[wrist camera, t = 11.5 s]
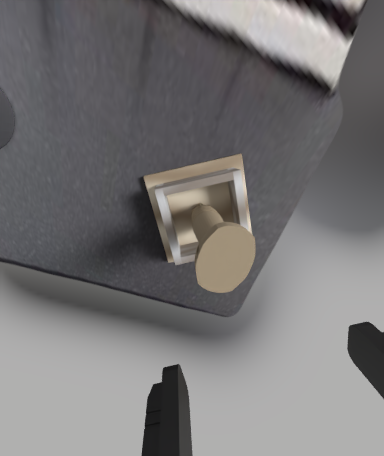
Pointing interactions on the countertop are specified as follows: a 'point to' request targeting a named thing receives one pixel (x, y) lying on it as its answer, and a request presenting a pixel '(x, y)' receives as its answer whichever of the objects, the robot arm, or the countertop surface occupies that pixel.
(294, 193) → the countertop surface
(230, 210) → the small square bin
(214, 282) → the handle
